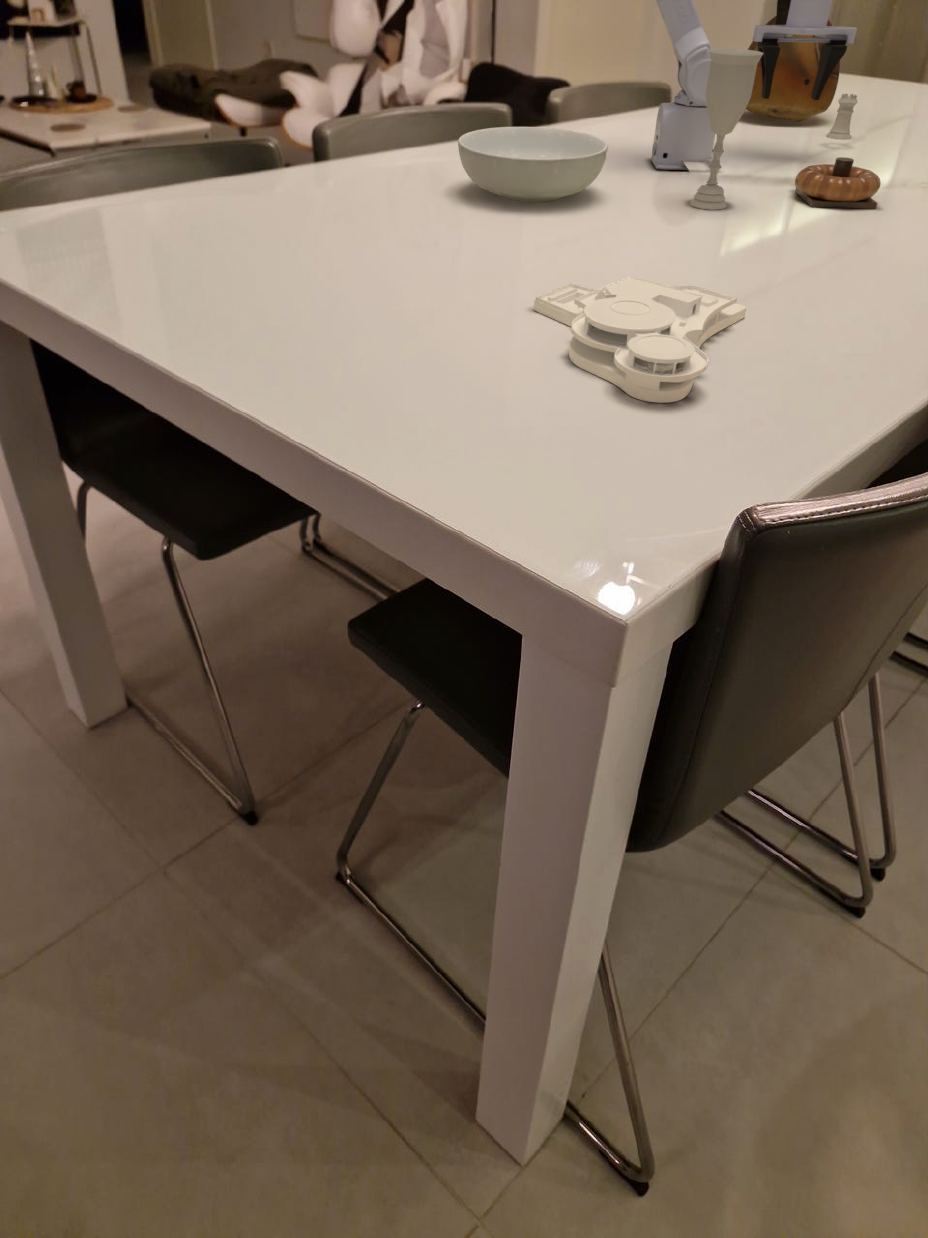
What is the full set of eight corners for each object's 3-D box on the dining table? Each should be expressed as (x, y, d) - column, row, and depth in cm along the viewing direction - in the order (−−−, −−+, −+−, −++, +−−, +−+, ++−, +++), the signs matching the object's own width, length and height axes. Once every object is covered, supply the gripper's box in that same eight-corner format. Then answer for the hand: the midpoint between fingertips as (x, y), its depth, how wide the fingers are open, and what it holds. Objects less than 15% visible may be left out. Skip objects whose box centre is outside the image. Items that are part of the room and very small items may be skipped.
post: (811, 206, 121) (821, 165, 117) (794, 191, 128) (804, 151, 124) (875, 208, 120) (888, 166, 117) (855, 193, 127) (866, 153, 124)
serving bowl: (431, 199, 120) (430, 144, 115) (496, 171, 134) (498, 121, 130) (569, 221, 113) (574, 163, 108) (623, 188, 127) (629, 136, 123)
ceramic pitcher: (838, 117, 179) (885, -67, 160) (813, 132, 165) (861, -68, 146) (746, 107, 186) (780, -70, 168) (715, 120, 173) (748, -70, 154)
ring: (805, 202, 119) (811, 178, 117) (785, 183, 128) (790, 161, 126) (886, 204, 119) (894, 181, 117) (861, 185, 128) (867, 163, 126)
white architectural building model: (805, 332, 83) (818, 285, 80) (669, 416, 68) (678, 362, 65) (609, 279, 94) (615, 236, 92) (457, 340, 80) (457, 291, 77)
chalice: (734, 213, 117) (765, 56, 106) (683, 209, 118) (709, 53, 107) (732, 199, 123) (761, 49, 111) (683, 196, 124) (708, 47, 112)
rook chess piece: (845, 144, 156) (859, 93, 151) (852, 149, 153) (866, 97, 148) (820, 143, 157) (833, 92, 152) (826, 148, 153) (839, 96, 148)
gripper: (769, -10, 122) (748, 101, 130) (873, -8, 121) (845, 103, 130) (758, -13, 127) (739, 93, 136) (858, -11, 127) (831, 96, 135)
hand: (790, 98), depth 133 cm, fingers open, 7 cm apart
